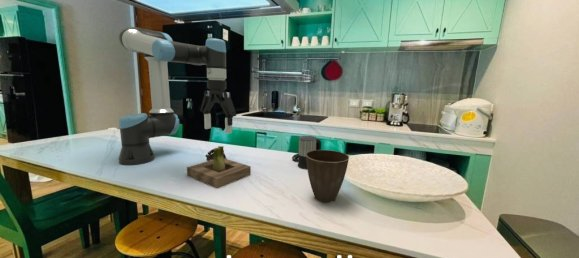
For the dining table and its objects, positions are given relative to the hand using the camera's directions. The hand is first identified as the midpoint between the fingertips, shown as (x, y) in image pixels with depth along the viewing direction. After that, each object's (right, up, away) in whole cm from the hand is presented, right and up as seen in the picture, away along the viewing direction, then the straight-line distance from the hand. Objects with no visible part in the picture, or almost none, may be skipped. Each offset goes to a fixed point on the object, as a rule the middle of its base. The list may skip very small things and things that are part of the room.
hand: (217, 130), depth 97 cm
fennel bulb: (0, -19, +3) cm, 19 cm away
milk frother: (+37, -17, +22) cm, 47 cm away
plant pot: (+43, -24, -14) cm, 51 cm away
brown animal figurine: (-7, -16, +22) cm, 28 cm away
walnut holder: (0, -20, +3) cm, 20 cm away
